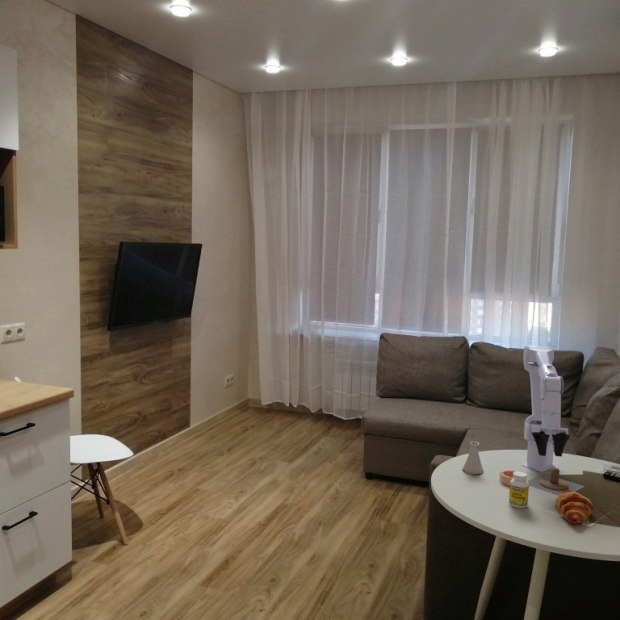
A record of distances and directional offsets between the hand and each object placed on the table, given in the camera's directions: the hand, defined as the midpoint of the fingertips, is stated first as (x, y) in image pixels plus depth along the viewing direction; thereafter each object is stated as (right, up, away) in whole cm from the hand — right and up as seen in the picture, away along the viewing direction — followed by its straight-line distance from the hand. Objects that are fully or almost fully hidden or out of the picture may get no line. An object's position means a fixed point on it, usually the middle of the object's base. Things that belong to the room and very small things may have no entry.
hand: (550, 456), depth 197 cm
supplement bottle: (-15, -12, -13) cm, 23 cm away
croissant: (0, -13, -18) cm, 22 cm away
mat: (+2, -10, +2) cm, 11 cm away
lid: (+2, -10, +2) cm, 10 cm away
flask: (-22, -9, +13) cm, 27 cm away
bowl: (-11, -10, +3) cm, 15 cm away
